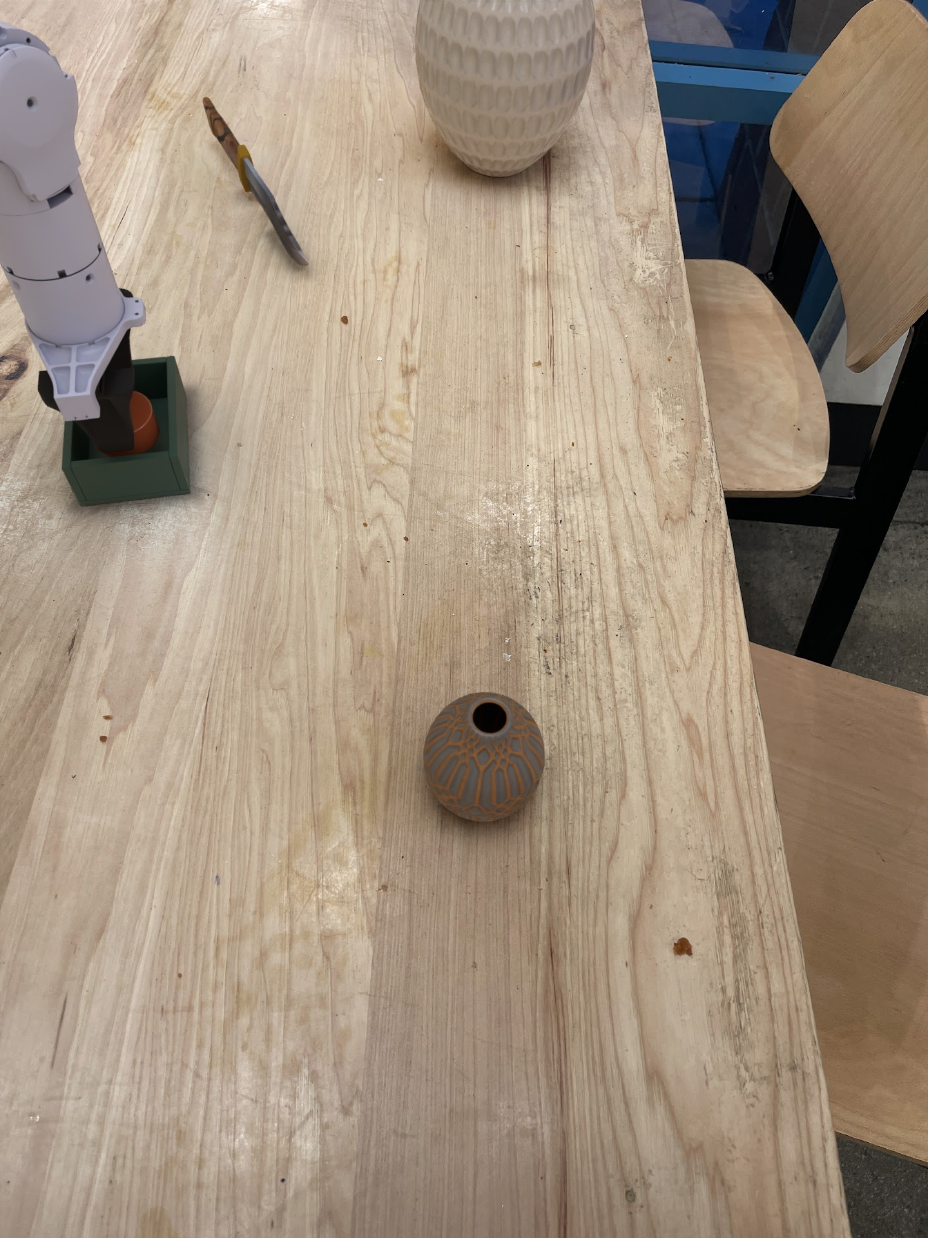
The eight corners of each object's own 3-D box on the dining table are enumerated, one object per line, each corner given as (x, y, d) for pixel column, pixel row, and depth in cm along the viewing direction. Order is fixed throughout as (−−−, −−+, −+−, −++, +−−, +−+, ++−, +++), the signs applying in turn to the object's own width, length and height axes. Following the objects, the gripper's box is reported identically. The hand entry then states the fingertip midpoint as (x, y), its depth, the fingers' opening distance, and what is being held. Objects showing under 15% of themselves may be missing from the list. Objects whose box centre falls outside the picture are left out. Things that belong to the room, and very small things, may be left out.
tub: (80, 506, 63) (61, 468, 60) (84, 405, 68) (67, 365, 65) (190, 493, 64) (177, 455, 61) (186, 395, 70) (174, 355, 66)
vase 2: (407, 748, 54) (405, 680, 47) (511, 714, 56) (525, 643, 48) (446, 852, 51) (450, 797, 43) (555, 813, 52) (577, 753, 45)
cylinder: (92, 462, 62) (82, 440, 60) (94, 415, 64) (84, 392, 62) (160, 454, 62) (152, 432, 60) (159, 408, 65) (151, 385, 63)
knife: (319, 285, 77) (313, 234, 73) (304, 290, 77) (297, 238, 73) (220, 142, 88) (210, 90, 84) (207, 145, 88) (196, 93, 84)
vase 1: (415, 112, 93) (413, -158, 74) (567, 115, 94) (604, -151, 75) (416, 204, 84) (415, -76, 65) (585, 206, 85) (631, -69, 66)
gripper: (121, 326, 47) (180, 492, 59) (124, 171, 55) (175, 345, 66) (-18, 339, 46) (69, 505, 58) (4, 179, 54) (77, 355, 65)
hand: (119, 421), depth 62 cm, fingers closed on cylinder, 4 cm apart
